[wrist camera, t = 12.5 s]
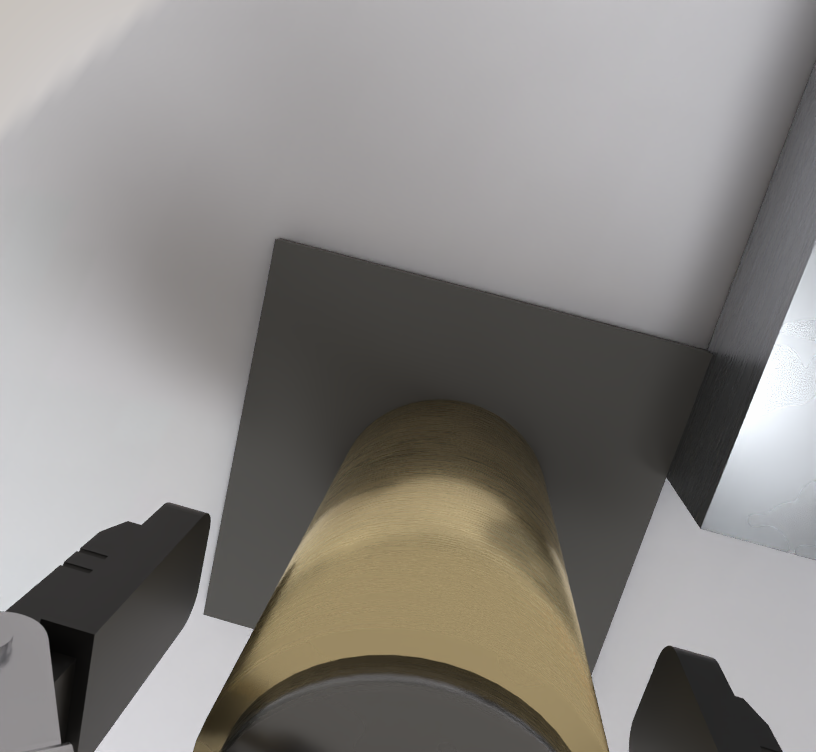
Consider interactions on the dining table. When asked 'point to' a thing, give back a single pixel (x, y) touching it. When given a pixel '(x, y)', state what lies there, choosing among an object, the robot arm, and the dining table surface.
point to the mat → (451, 380)
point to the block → (763, 373)
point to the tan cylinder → (419, 607)
